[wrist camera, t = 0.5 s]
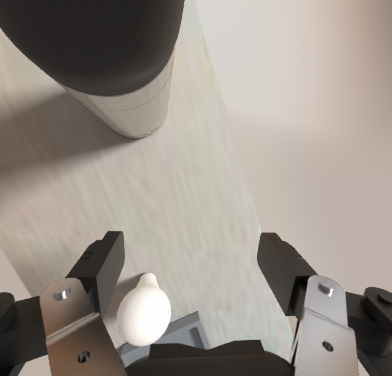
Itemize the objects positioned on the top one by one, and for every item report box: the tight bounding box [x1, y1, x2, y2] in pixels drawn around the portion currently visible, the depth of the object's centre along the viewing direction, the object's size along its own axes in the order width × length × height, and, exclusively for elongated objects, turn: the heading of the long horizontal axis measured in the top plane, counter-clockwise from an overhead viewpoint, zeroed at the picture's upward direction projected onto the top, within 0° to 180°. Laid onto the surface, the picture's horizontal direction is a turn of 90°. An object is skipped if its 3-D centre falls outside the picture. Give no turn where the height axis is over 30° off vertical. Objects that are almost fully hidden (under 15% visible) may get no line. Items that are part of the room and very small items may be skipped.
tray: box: [121, 311, 211, 367], centre depth 33 cm, size 13×13×2 cm
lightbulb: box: [117, 273, 171, 346], centre depth 26 cm, size 6×6×11 cm
